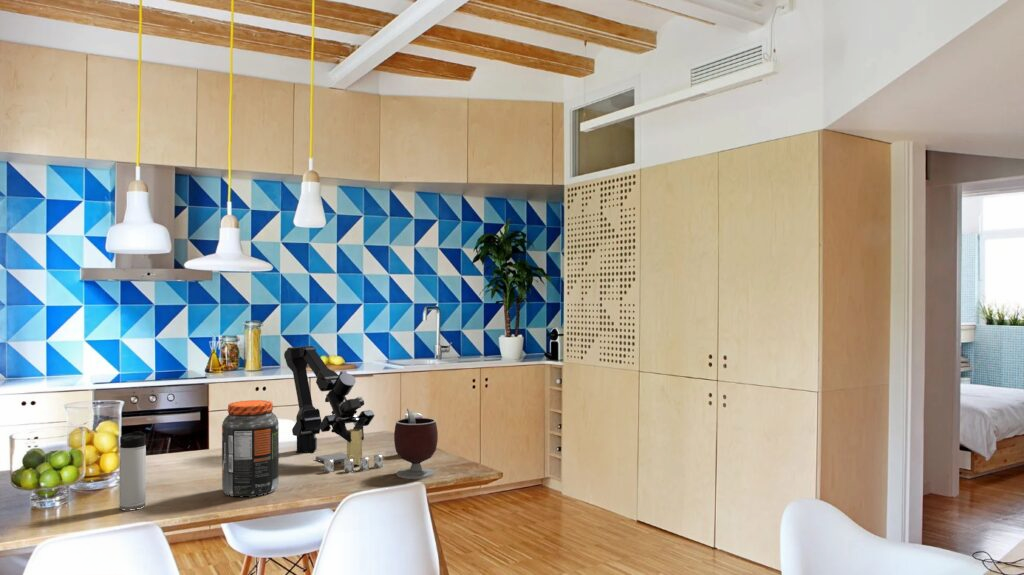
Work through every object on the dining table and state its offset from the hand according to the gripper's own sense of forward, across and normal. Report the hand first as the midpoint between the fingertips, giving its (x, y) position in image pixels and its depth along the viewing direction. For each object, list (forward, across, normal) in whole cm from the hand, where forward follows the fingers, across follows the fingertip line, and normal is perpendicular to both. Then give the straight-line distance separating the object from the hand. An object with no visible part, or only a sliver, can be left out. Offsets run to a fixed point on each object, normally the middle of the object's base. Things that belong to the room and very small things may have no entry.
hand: (356, 440), depth 249 cm
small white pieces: (+5, +26, +8) cm, 27 cm away
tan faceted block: (+4, 0, +6) cm, 8 cm away
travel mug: (+6, -70, +6) cm, 71 cm away
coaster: (-3, 0, +16) cm, 16 cm away
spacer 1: (+7, -11, +6) cm, 14 cm away
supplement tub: (+10, -40, +2) cm, 41 cm away
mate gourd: (+22, +8, -10) cm, 25 cm away
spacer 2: (+10, -6, +3) cm, 12 cm away
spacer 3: (+10, -1, +2) cm, 11 cm away
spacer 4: (+10, +4, +2) cm, 11 cm away
